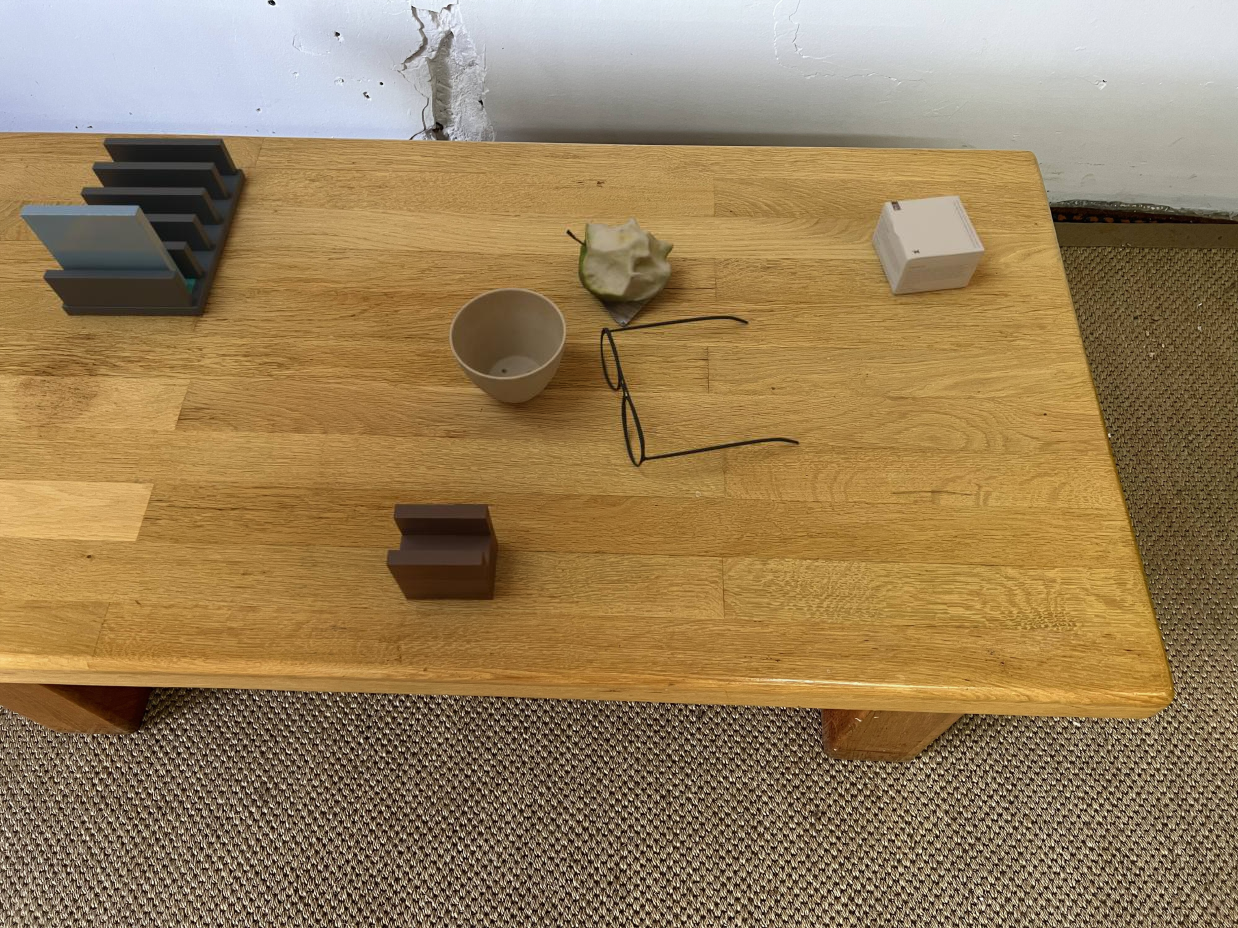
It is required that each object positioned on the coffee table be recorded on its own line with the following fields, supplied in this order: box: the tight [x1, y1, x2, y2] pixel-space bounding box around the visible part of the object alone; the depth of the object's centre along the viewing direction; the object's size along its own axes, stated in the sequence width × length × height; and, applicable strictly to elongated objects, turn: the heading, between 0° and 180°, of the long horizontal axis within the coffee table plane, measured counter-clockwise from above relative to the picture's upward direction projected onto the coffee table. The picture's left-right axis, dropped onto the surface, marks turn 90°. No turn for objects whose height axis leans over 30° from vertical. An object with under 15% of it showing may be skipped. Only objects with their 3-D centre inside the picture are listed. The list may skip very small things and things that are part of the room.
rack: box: [42, 137, 247, 317], centre depth 86 cm, size 19×13×5 cm
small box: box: [871, 194, 986, 295], centre depth 85 cm, size 8×8×5 cm
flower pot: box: [448, 287, 567, 404], centre depth 77 cm, size 10×10×7 cm
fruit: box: [566, 217, 675, 327], centre depth 83 cm, size 9×9×8 cm
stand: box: [385, 503, 499, 601], centre depth 67 cm, size 5×7×7 cm
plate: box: [19, 204, 188, 287], centre depth 79 cm, size 1×10×10 cm, turn 90°
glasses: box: [599, 315, 800, 468], centre depth 78 cm, size 14×15×5 cm
